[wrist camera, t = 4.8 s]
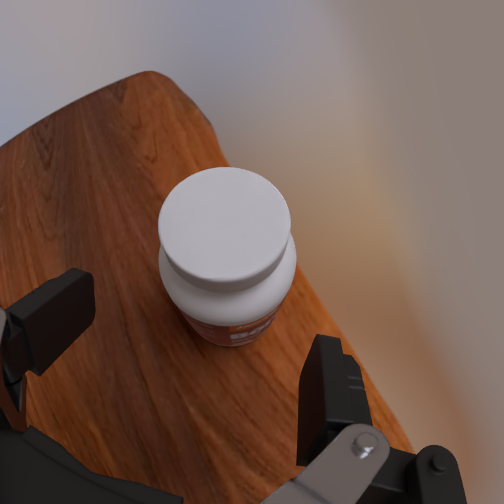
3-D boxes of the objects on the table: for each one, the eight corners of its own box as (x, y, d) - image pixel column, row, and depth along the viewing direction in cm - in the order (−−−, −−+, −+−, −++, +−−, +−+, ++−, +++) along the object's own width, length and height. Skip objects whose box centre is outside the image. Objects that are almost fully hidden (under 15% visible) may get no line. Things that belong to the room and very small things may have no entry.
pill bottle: (240, 366, 18) (240, 347, 8) (168, 310, 20) (103, 234, 10) (293, 294, 21) (342, 204, 11) (223, 245, 22) (213, 131, 12)
